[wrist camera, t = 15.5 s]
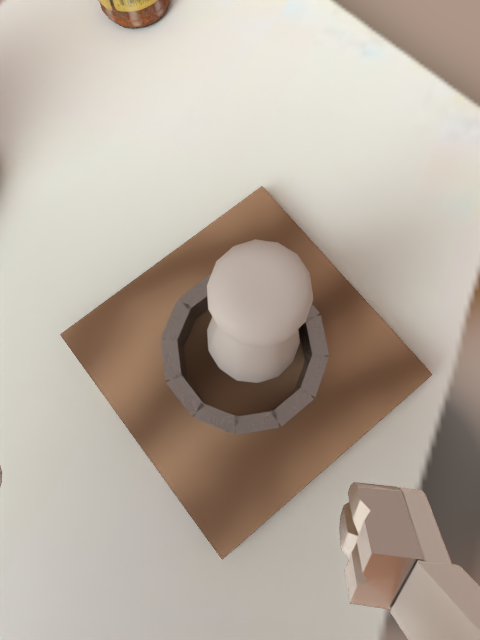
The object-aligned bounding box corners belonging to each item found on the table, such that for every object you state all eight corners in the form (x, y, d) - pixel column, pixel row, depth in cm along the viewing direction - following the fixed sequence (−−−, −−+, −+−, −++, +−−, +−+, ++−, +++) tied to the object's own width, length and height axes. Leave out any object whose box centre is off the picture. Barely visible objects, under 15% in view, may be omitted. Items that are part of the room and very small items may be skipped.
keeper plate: (425, 375, 29) (432, 374, 28) (222, 554, 26) (222, 559, 25) (261, 193, 32) (262, 186, 31) (66, 337, 29) (60, 334, 28)
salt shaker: (299, 381, 28) (347, 354, 15) (213, 389, 28) (190, 369, 15) (288, 297, 29) (325, 208, 16) (207, 304, 29) (180, 220, 16)
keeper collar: (348, 365, 28) (360, 359, 25) (232, 462, 27) (231, 469, 24) (254, 257, 30) (255, 239, 27) (141, 343, 28) (129, 335, 25)
